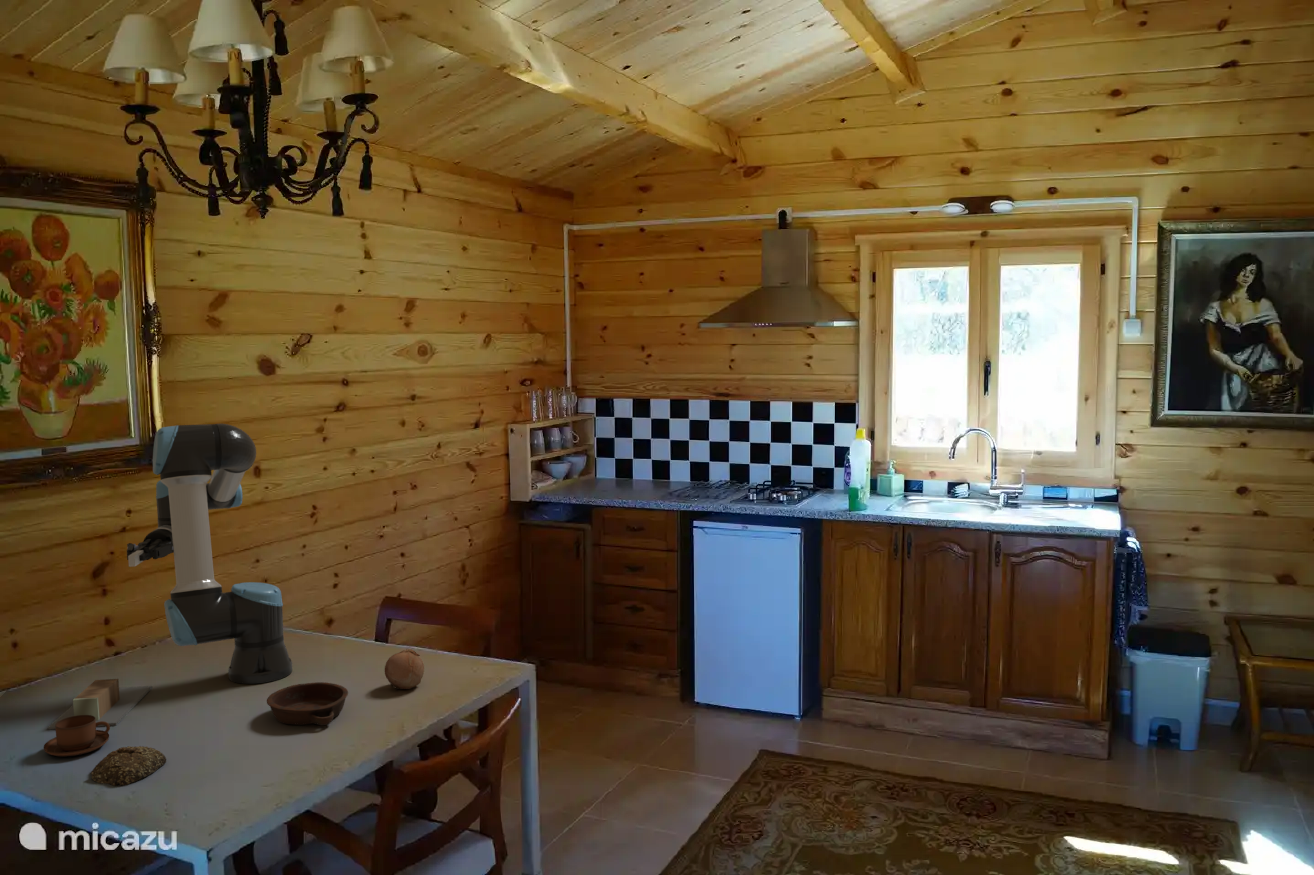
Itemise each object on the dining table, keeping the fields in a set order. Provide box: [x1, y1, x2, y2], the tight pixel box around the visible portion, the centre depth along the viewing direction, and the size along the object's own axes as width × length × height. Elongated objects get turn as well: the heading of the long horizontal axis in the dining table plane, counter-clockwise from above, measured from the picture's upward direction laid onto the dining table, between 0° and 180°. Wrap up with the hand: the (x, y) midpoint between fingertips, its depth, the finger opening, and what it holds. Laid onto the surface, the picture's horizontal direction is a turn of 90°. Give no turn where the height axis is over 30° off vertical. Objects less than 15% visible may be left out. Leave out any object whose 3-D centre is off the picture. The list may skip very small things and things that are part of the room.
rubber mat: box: [47, 685, 153, 730], centre depth 237 cm, size 14×24×1 cm, turn 9°
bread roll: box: [90, 745, 167, 787], centre depth 203 cm, size 13×12×5 cm
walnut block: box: [72, 678, 120, 720], centre depth 234 cm, size 5×5×13 cm
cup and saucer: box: [43, 715, 111, 757], centre depth 214 cm, size 12×12×6 cm
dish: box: [266, 681, 349, 726], centre depth 232 cm, size 18×22×5 cm
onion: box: [384, 648, 425, 691], centre depth 250 cm, size 10×9×10 cm
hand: (131, 561), depth 255 cm, fingers closed
